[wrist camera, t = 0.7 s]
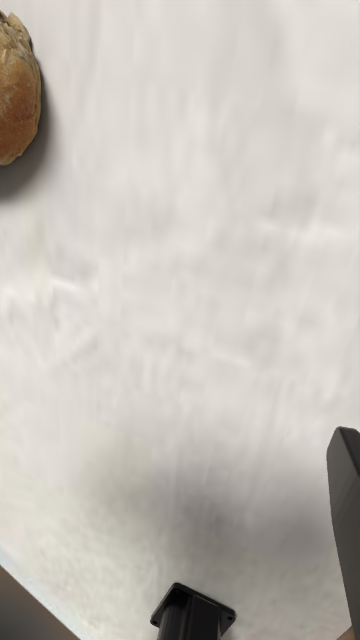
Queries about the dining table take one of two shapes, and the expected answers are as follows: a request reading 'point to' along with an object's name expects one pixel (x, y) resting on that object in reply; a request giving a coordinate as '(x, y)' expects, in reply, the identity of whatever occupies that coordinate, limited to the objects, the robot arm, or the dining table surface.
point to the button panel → (348, 635)
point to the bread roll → (17, 89)
